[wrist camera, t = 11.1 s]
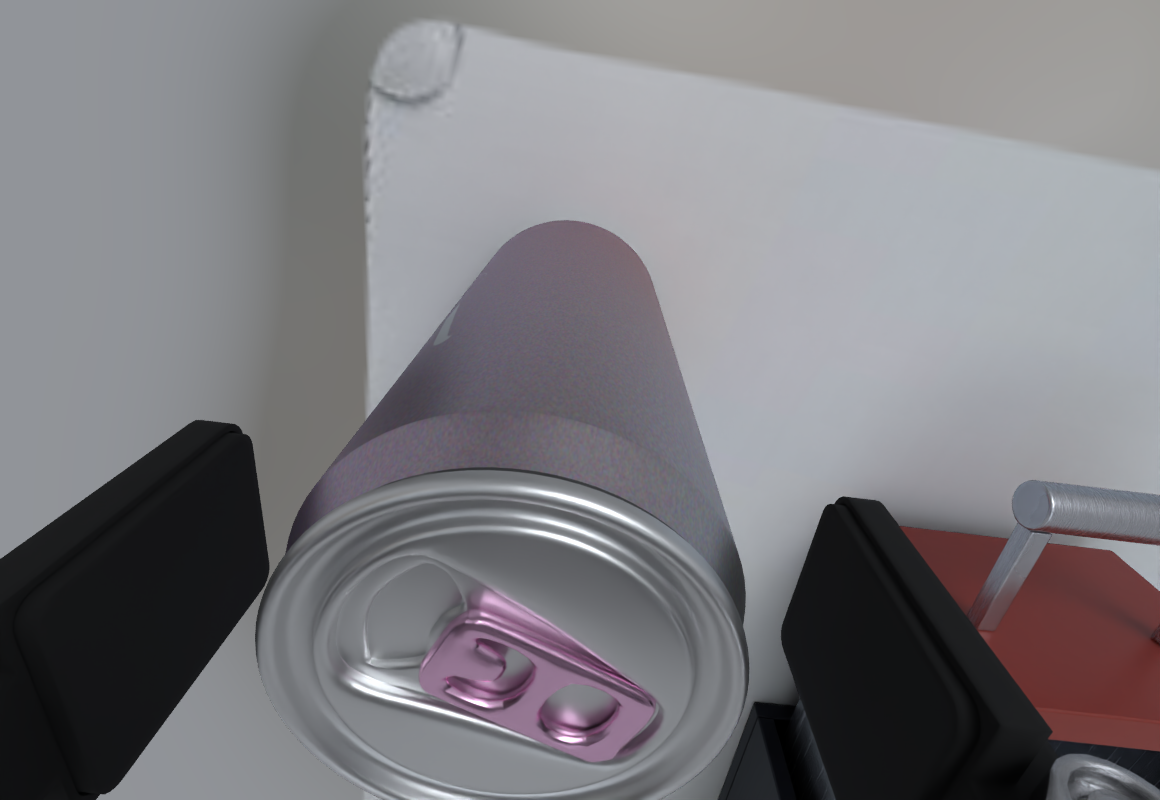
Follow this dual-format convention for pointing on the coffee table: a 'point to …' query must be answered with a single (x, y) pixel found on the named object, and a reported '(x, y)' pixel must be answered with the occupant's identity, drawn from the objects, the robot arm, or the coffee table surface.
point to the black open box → (761, 758)
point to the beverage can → (518, 555)
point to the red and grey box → (1051, 624)
